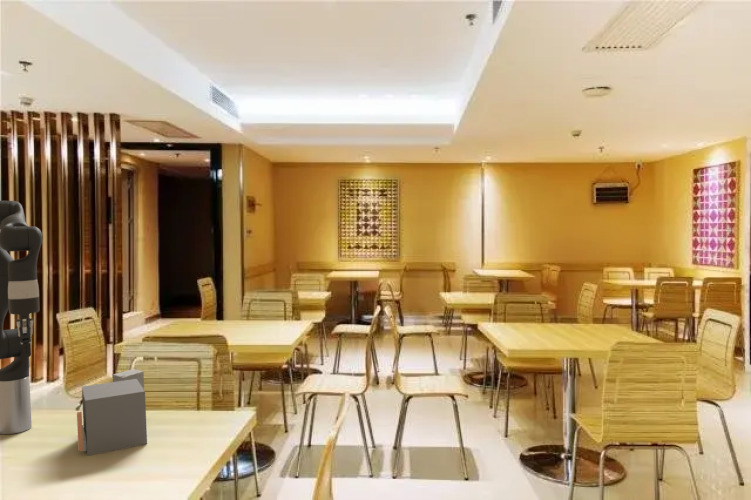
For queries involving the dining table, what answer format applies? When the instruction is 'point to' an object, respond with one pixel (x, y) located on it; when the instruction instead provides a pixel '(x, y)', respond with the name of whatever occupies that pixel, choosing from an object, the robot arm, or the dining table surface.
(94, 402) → the cabinet
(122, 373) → the skincare box
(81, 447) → the drawer
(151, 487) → the dining table surface
